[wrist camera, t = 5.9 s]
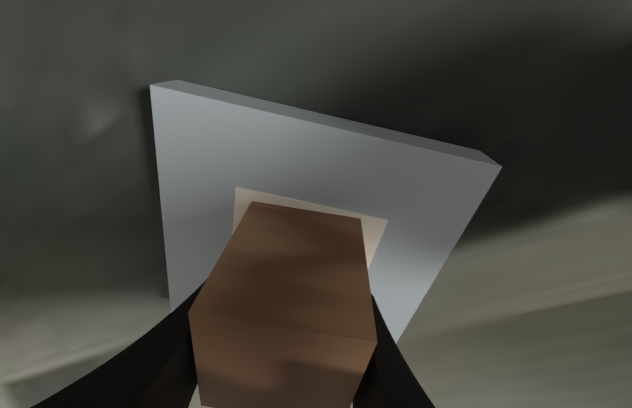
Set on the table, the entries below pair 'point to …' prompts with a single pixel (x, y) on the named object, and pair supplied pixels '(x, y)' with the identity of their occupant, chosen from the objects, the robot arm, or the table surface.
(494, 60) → the table surface
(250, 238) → the walnut block
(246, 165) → the base board
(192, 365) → the robot arm
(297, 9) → the table surface
